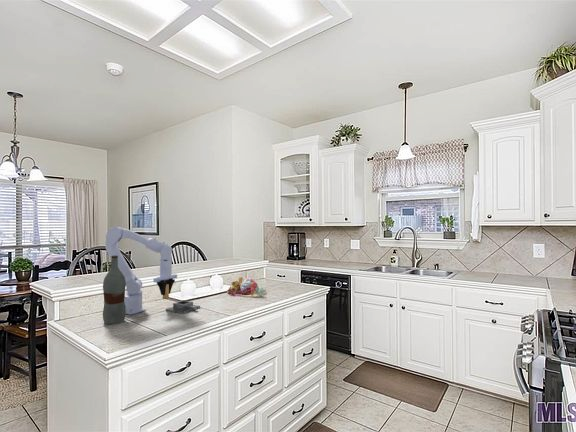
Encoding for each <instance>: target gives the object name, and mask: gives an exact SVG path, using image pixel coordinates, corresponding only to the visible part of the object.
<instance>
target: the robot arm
mask: <svg viewBox="0 0 576 432" xmlns="http://www.w3.org/2000/svg"><path fill="white" fill-rule="evenodd" d="M107 230H108V231H107V232H106V234H105V246H104V247H105V250H106V252H107V253H108V255H109V257H110V258H111V256H118V268H119V269H120V271H121V272H122V274H123V275H124V277H125V281H126V287H125V291H126V294H125V298H124V302H125V309H126V314H125V315H130V316H131V315H134V314H138V313H141V312H143V311H147V308H143V291H142V290H141V289H142V287H143V282H142V280H141V279H140V278H138V277H137V276H136V275H135V274H134V272H133V271H132V269H131V267H130V266H129V264H128V263H127V261H126V259H125V257H124V256H123V254H122V253H121V250H120V249H119V247H118V246H119V243H120V241H121V240H123V239H130V240H133V241H135V242H138V243H141V244H143V245H144V246H145V248H146V249H148V250H150V251H152V252H155V253H157V254H160V259H159V276H157V277H154V278H153V283H156V285H157V286H158V289H159V291H160V295H162V296H163V295H165V291H166V285H167V284H169V295H170V294H171V292H172V288H173V286H174V283H175V281H176V279H178V274H176V273H173V271H172V269H173V268H172V265H173V263H172V261H173V260H172V253H173V249H172V246H171V245H169V244H168V243H167V244H166V243H165V242H162V241H159V240H157V237H154V238H153V237H150V238H147V237H145V236H142V235H141V234H139V233H137V232H135V231H132V230H130V229H128V228H124V227H122V226H112V227H110V228H109V229H107ZM172 273H173V274H172Z"/></svg>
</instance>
